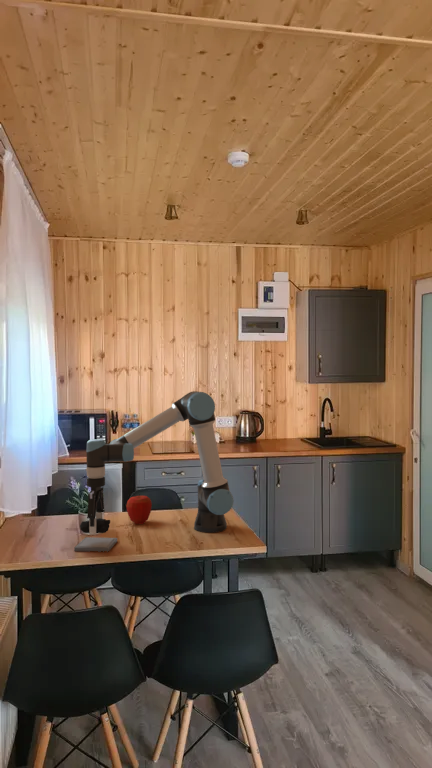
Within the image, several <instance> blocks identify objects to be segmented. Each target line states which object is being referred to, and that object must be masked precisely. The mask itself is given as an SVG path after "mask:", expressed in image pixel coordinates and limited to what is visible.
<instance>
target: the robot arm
mask: <svg viewBox="0 0 432 768" xmlns="http://www.w3.org/2000/svg"><path fill="white" fill-rule="evenodd" d="M215 410H216V403H215V400H214V398H213V397H212V396H211V395H209V394H208V393H206V392H204V391H196V390H195V391H194V390H193V391H189V392H188V393H186V394H184V395H183V396H182V397H180V398H179V399H178V400H176V401H174V402H173V403H172V405H171V406H170V407H169V408H167V409H165V410H163V411H162V412H160V413H159V414H156V415H155V416H153V417H152V418H150V419H149V420H147V421H145V422H143V423H142V424H140V425H138V426H136V427H135V428H133V429H132V430H130V431H127V432H126V433H125V434H123V435H122V436H120V437H118V438H115V439H113V440H111V441H110V443H106V441H105V440H104V439H102V438H100V439H99V438H96V439H95V438H93V439H92V438H91V439H89V440H88V441H87V442H86V450H85V451H86V452H85V454H86V456H85V457H86V468H85V472H86V476H87V477H86V486H87V488H90V491H89V493H88V494H87V516H86V518H87V519H88V521H89V533H88V534H89V535H97V534H96V519H99V518H101V519H104V518H103V513H105V510H106V509H105V504H104V501H105V500H104V487H105V485H106V477H105V476H106V463H114V462H115V463H117V462H121V463H127V462H132V461H134V459H135V458H134V457H135V456H134V455H135V448H137V447H139V446H141V445H142V444H144V443H145V442H147V441H149V440H150V439H152V438H154V437H156V436H157V435H159V434H161V433H162V432H164V431H165V430H167V429H169V428H171V427H172V426H174V425H176V424H177V423H179V422H185V421H186V420H188V424H189V426H190V427H191V428H192V429H193V433H194V437H195V442H196V447H197V448H196V449H197V451H198V457H199V461H200V466H201V467H200V468H201V472H202V476H203V478H202V479H198V481H197V514H196V517H195V520H194V524H193V526H194V527H193V528H194V530H195V531H197V532H202V533H219V531H220V532H224V531H225V529H226V528H227V527H228V526H227V520H226V517H225V514H227V513H229V512H230V511H231V510H232V509H233V506H234V501H235V499H234V497H233V494H232V492H231V491H230V487H229V482H228V479H226V478H225V477H224V476H223V475H224V474H223V469H222V464H221V459H220V454H219V450H218V444H217V440H216V434H215V429H214V423H215V422H216V415H215ZM223 530H224V531H223Z"/></svg>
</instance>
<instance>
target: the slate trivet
mask: <svg viewBox="0 0 432 768" xmlns="http://www.w3.org/2000/svg"><path fill="white" fill-rule="evenodd" d="M117 543H118V538H117V537H93V536H92V537H90V536H89V537H88V536H86V537H84V538H83V539H82V540H81V541H79V542H78V543H77V545H76V546H74V552H90V551H98V553H99V552H100V553H105V552H104V551H107V552H106V553H109V552H110V551H111V549H112V548H114V545H116V544H117ZM101 551H103V552H101ZM108 551H109V552H108Z"/></svg>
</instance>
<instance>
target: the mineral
mask: <svg viewBox="0 0 432 768" xmlns="http://www.w3.org/2000/svg"><path fill="white" fill-rule="evenodd" d="M110 524H111V520H110V519H105V518H103V519H101V518H99V519H96V534H95V535H98V534H106V533H107V532H108V531H109V529H110ZM79 530H80V531H81V532H82V533H86V534H89V520H83V521H81V523H80V524H79Z"/></svg>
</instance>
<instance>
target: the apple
mask: <svg viewBox="0 0 432 768" xmlns="http://www.w3.org/2000/svg"><path fill="white" fill-rule="evenodd" d="M152 503H153V502H152V500H151V498H150V497H148V496H147V495H140V494H139V495H135V496H131V497H130V498H129V499H128V500H127V502H126V505H125V506H126V507H125V508H126V512H127V515H128V517H129V519H130V521H131V522H132V523H134V525H144V524H145V523H146V522H147V521H148V520H149V517H150V514H151V512H152V505H153V504H152Z"/></svg>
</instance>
